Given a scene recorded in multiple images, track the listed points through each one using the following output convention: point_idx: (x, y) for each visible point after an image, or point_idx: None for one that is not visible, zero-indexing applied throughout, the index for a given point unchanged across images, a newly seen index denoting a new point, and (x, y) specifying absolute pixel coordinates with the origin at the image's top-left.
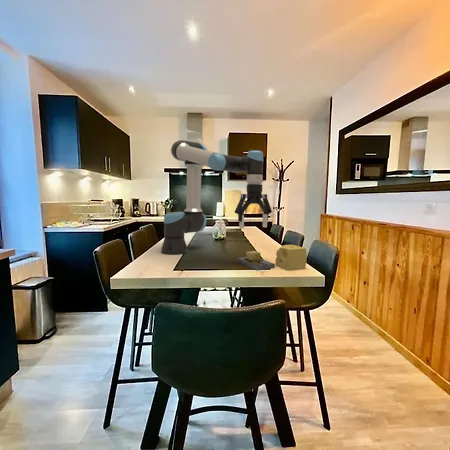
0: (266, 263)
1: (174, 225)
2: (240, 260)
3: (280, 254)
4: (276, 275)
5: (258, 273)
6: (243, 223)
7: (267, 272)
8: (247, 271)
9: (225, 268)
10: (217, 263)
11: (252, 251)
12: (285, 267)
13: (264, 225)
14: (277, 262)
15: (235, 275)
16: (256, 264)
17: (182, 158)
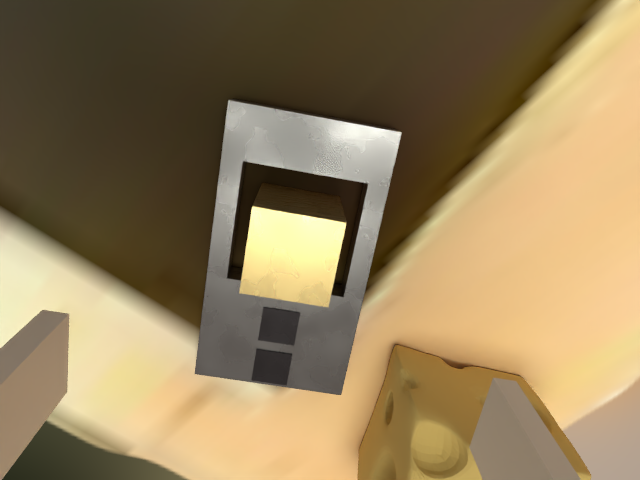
0: (299, 361)
1: None
2: (222, 158)
3: (394, 444)
4: (225, 475)
5: (164, 402)
6: (16, 450)
7: (225, 416)
8: (133, 339)
9: (39, 203)
10: (56, 39)
11: (310, 230)
12: (365, 440)
13: (485, 442)
14: (390, 376)
15: None
16: (219, 342)
17: None
